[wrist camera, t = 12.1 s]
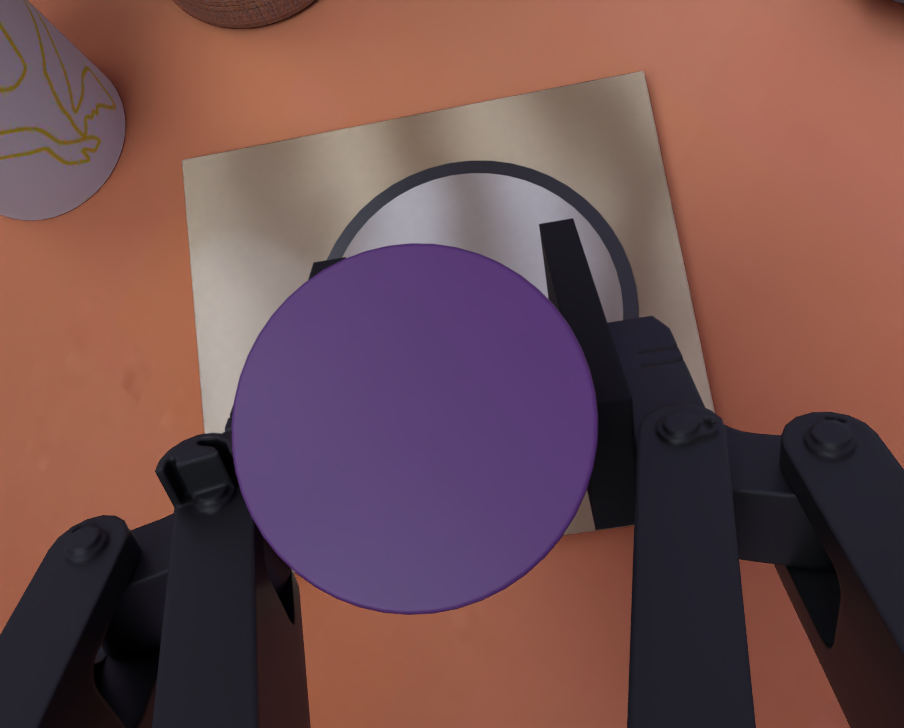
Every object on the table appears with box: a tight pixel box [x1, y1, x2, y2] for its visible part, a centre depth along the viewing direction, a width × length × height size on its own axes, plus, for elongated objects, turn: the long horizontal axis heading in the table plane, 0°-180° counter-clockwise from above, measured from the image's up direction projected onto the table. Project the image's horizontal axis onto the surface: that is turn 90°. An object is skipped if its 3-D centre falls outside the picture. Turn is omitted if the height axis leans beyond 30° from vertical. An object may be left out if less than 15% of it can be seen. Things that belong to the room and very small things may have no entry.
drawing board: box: [182, 71, 715, 573], centre depth 32 cm, size 20×18×1 cm
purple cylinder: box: [232, 243, 598, 615], centre depth 15 cm, size 4×4×12 cm
